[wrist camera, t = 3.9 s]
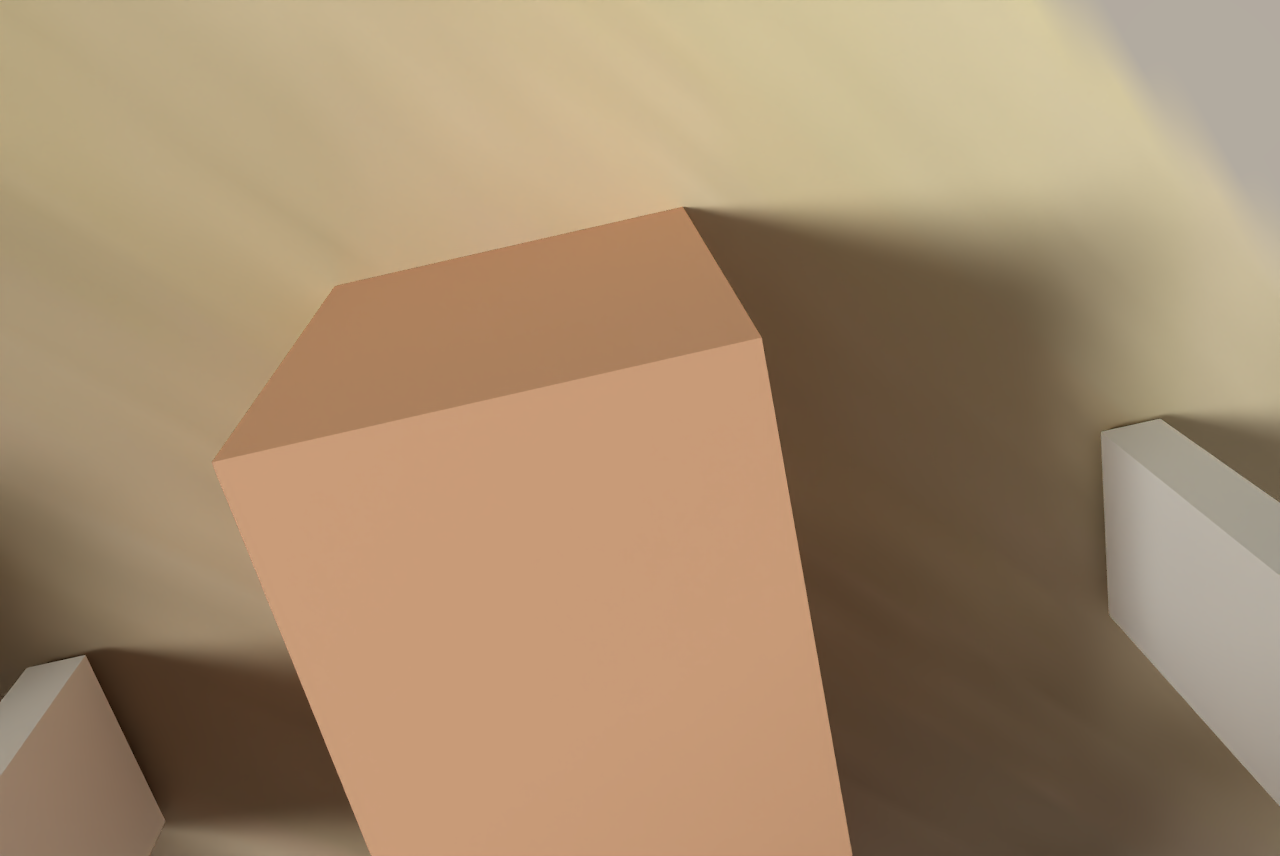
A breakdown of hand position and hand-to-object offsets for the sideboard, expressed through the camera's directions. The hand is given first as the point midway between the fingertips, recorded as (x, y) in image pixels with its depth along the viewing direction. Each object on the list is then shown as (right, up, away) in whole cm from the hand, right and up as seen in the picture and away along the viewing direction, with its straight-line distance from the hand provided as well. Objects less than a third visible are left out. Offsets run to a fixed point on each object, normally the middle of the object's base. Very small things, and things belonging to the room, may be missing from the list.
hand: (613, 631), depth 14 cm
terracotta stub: (0, 0, 0) cm, 0 cm away
